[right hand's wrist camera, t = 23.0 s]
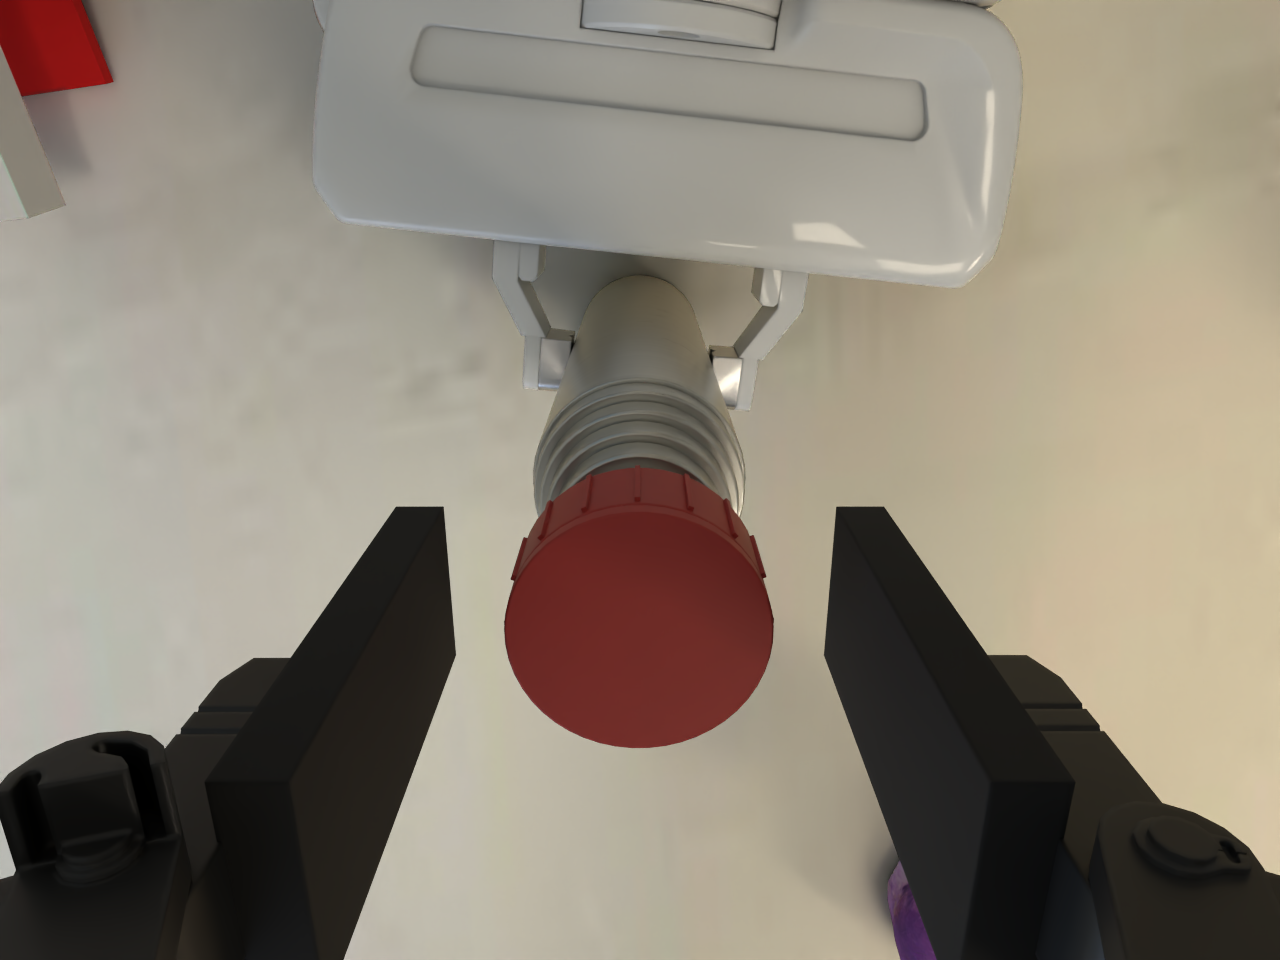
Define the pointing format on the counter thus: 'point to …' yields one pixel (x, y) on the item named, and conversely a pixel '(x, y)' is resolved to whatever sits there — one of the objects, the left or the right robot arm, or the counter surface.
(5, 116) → the toy
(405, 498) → the counter surface
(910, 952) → the figurine
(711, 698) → the cap
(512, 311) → the left robot arm
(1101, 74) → the counter surface
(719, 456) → the bottle
